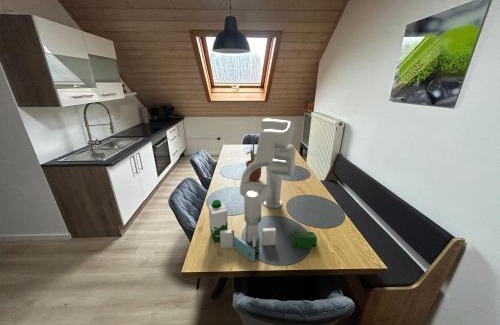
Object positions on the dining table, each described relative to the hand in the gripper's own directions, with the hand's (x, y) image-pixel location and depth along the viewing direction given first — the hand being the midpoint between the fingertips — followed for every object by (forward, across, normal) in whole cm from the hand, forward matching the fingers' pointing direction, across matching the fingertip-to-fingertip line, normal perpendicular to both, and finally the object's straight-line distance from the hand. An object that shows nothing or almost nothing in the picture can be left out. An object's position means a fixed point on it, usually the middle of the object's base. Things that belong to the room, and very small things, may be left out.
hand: (252, 246), depth 102 cm
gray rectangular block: (+1, 0, 0) cm, 1 cm away
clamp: (+3, -2, +26) cm, 27 cm away
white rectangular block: (+2, -3, -2) cm, 4 cm away
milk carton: (+2, -10, -16) cm, 20 cm away
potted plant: (+5, -72, +10) cm, 73 cm away
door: (+2, +3, -5) cm, 6 cm away
